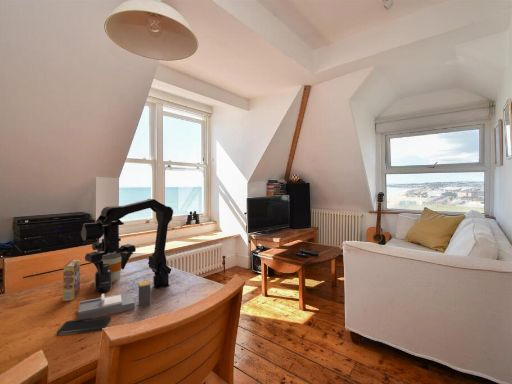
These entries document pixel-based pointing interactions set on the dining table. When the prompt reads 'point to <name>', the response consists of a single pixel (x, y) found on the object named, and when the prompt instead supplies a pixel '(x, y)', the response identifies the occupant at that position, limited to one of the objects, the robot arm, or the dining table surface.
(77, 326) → the phone
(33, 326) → the dining table surface
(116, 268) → the reusable coffee cup
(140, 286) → the plug
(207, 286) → the dining table surface
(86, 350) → the dining table surface
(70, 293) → the candy box
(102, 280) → the supplement bottle
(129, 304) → the socket plate
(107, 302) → the shutter
